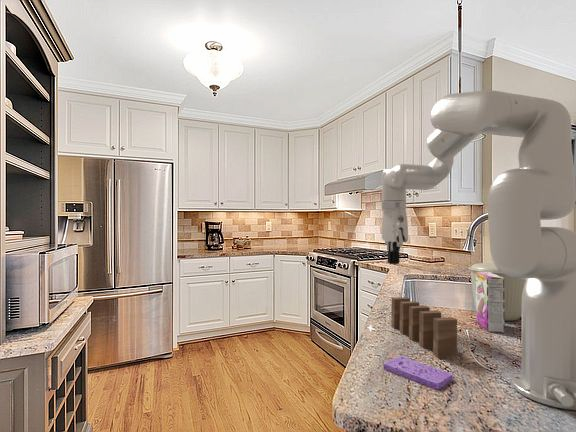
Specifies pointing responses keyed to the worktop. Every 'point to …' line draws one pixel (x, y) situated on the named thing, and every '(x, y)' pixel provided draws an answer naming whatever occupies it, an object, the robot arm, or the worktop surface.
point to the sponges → (418, 372)
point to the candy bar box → (490, 301)
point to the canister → (511, 290)
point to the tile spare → (445, 337)
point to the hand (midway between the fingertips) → (393, 263)
